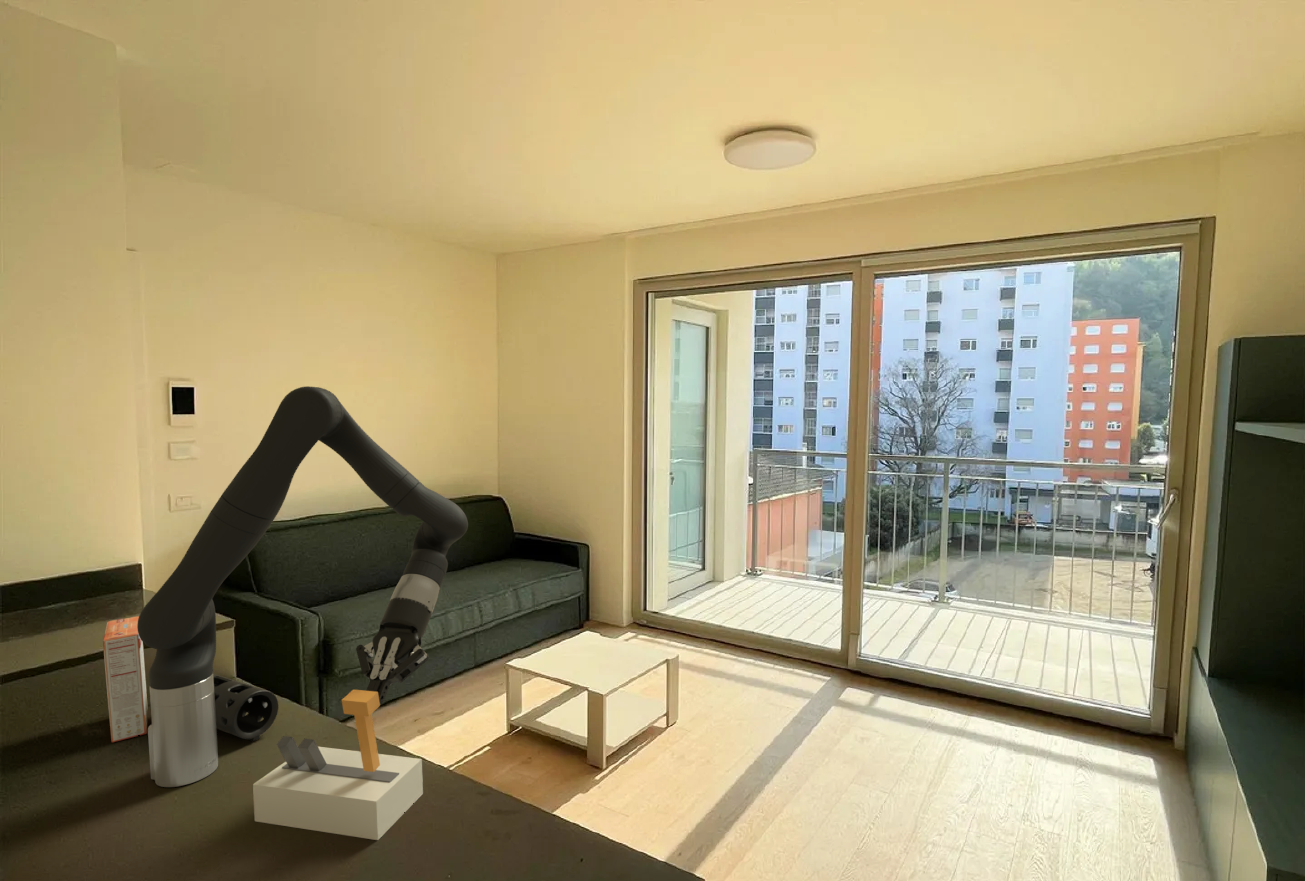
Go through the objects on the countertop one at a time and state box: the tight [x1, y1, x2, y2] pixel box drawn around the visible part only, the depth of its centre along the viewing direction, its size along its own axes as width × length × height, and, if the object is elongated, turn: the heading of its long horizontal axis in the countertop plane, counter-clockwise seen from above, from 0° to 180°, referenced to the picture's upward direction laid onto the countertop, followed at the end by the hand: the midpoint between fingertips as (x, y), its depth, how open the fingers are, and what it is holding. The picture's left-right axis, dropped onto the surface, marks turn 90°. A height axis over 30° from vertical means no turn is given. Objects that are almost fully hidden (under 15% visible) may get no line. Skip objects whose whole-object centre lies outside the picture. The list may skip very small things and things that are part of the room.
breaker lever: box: [341, 689, 381, 772], centre depth 104 cm, size 4×3×13 cm, turn 77°
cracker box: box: [102, 615, 148, 743], centre depth 136 cm, size 14×6×21 cm, turn 36°
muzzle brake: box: [213, 673, 279, 742], centre depth 135 cm, size 10×28×10 cm, turn 62°
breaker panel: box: [252, 735, 424, 841], centre depth 107 cm, size 22×12×12 cm, turn 77°
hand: (370, 705), depth 105 cm, fingers closed
